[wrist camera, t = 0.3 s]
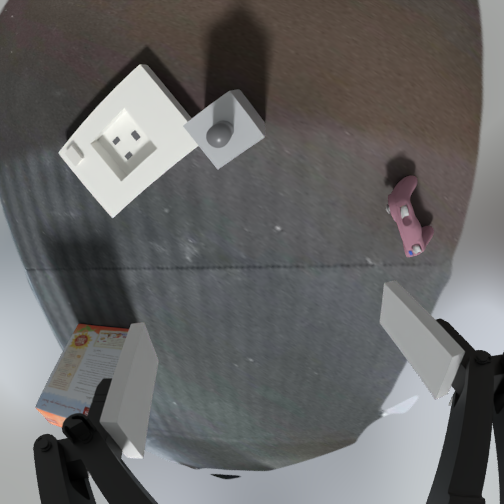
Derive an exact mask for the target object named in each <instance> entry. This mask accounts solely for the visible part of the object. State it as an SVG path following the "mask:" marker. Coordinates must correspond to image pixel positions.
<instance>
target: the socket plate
mask: <svg viewBox="0 0 504 504" xmlns="http://www.w3.org/2000/svg"><path fill="white" fill-rule="evenodd" d="M191 119H192V118H191V117H190V116H189V114H188V113H187V112H186V111H185V109H184V108H183V107H182V106H181V105H180V103H179V102H178V101H177V100H176V98H175V97H174V96H173V95H172V94H171V92H170V91H169V90H168V89H167V88H166V86H165V85H164V84H163V83H162V82H161V80H160V79H159V78H158V77H157V76H156V74H155V73H154V72H153V71H152V70H151V68H150V67H149V66H148V65H143V64H140V65H138V66H137V67H136V68H135V69H134V70H133V71H132V72H131V73H130V74H129V75H128V76H127V77H126V78H125V79H124V80H123V81H122V82H121V83H119V84H118V85H117V86H116V87H115V88H114V89H113V91H112V92H111V93H110V94H109V95H108V96H107V97H106V98H105V99H104V100H103V101H102V102H101V103H100V104H99V105H98V106H97V107H96V108H95V110H94V111H93V112H92V113H91V114H90V115H89V116H88V117H87V119H86V120H85V121H84V122H83V123H82V124H81V125H80V127H79V128H78V129H77V130H76V131H75V133H74V134H73V135H72V136H71V138H70V139H69V140H68V141H67V143H66V144H65V145H64V146H63V148H62V149H61V150H60V151H59V154H60V156H61V157H62V158H63V159H64V161H65V162H66V163H67V164H68V166H69V167H70V168H71V169H72V171H73V172H74V173H75V174H76V176H77V177H78V178H79V179H80V181H81V182H82V183H83V184H84V185H85V187H86V188H87V189H88V190H89V191H90V193H91V194H92V195H93V196H94V197H95V198H96V200H97V201H98V202H99V203H100V204H101V205H102V207H103V208H104V209H105V210H106V211H107V212H108V213H109V215H110V216H111V217H112V218H113V217H115V216H116V215H117V214H118V213H119V212H120V211H121V210H122V209H123V208H124V207H125V206H126V205H128V204H129V203H130V202H131V201H132V200H133V199H134V198H135V197H137V196H138V195H139V194H140V193H141V192H142V191H143V190H145V189H146V188H147V187H148V186H149V185H150V184H152V183H153V182H154V181H155V180H156V179H157V178H159V177H160V176H161V175H162V174H163V173H165V172H166V171H167V170H168V169H169V168H171V167H172V166H173V165H174V164H176V163H177V162H178V161H179V160H181V159H182V158H183V157H184V156H186V155H187V154H188V153H190V152H191V151H192V150H193V149H195V148H196V147H197V146H199V145H198V144H197V143H196V142H195V140H194V139H193V138H192V137H191V136H190V134H189V133H188V132H187V131H186V129H185V128H184V127H183V125H184V124H186V123H187V122H188V121H190V120H191Z"/></svg>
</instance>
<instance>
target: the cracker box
mask: <svg viewBox="0 0 504 504" xmlns="http://www.w3.org/2000/svg"><path fill="white" fill-rule="evenodd" d="M128 331H129V329H125V328H114V327H105V326H95V325H87V324H78V326H77V328H76V329H75V331H74V333H73V334H72V336H71V338H70V340H69V342H68V343H67V345H66V347H65V349H64V351H63V352H62V354H61V356H60V358H59V360H58V362H57V364H56V366H55V368H54V370H53V371H52V373H51V375H50V377H49V379H48V381H47V383H46V386H45V388H44V390H43V392H42V394H41V396H40V398H39V400H38V402H37V405H36V407H35V408H36V409H37V410H38V411H39V412H40V413H41V414H42V415H43V416H44V417H45V418H46V419H47V421H48V422H50V423H51V424H54V425H56V426H59V427H62V425H63V422H64V421H65V419H66V418H67V417H69V416H70V415H72V414H75V413H82V414H85V415H86V416H87V415H88V412H89V409H90V405H91V403H92V399H93V396H94V394H95V391H96V388H97V386H98V384H99V383H100V382H101V381H102V380H103V378H113V375H114V372H115V369H116V366H117V363H118V360H119V357H120V354H121V351H122V348H123V345H124V342H125V339H126V337H127V334H128Z"/></svg>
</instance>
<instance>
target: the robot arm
mask: <svg viewBox="0 0 504 504" xmlns="http://www.w3.org/2000/svg"><path fill="white" fill-rule="evenodd" d="M380 324H381V325H382V327H383V328H384V329H385V331H386V332H387V333H388V335H389V336H390V337H391V339H392V340H393V341H394V343H395V344H396V345H397V347H398V348H399V349H400V351H401V352H402V353H403V355H404V356H405V358H406V359H407V360H408V362H409V363H410V364H411V366H412V367H413V369H414V370H415V371H416V373H417V374H418V376H419V377H420V378H421V380H422V381H423V382H424V384H425V385H426V387H427V388H428V390H429V391H430V393H431V394H432V396H433V397H434V399H435V400H436V399H438V398H441V397H443V396H445V395H447V394H448V392H449V390H450V388H451V386H452V387H453V388H454V389H455V392H454V394H453V396H452V398H451V400H450V402H449V406H450V405H451V403H452V406H451V411H450V417H449V422H448V427H447V432H446V436H445V441H444V445H443V449H442V453H441V457H440V461H439V464H438V468H437V471H436V475H435V478H434V481H433V484H432V487H431V491H430V493H429V496H428V499H427V502H426V504H485V499H484V498H483V497H482V490H483V485H484V480H485V475H486V469H487V463H488V456H489V449H490V441H491V431H492V423H493V429H494V436H495V443H496V451H497V460H498V471H499V485H500V486H499V487H500V504H504V352H503V354H502V355H496V356H491V355H490V354H489V353H488V352H486V351H483V350H476V351H475V350H474V349H473V348H472V346H471V345H469V343H468V342H467V341H466V340H465V339H464V338H463V337H462V336H461V335H459V333H458V332H457V331H456V330H454V328H453V327H452V326H451V325H450V324H449V323H448V322H446V321H444V320H442V319H437V320H435V319H434V318H433V317H432V316H431V315H430V314H429V313H428V312H427V311H426V310H425V309H424V308H423V307H422V306H421V305H420V304H419V303H418V302H417V301H416V300H415V299H414V298H413V297H412V296H411V295H410V294H409V293H408V292H407V291H406V290H405V289H404V288H403V287H402V286H401V285H400V284H399V283H398V282H397V281H396V280H395V281H391V282H386V283H384V290H383V299H382V308H381V316H380ZM158 362H159V360H158V358H157V355H156V353H155V350H154V348H153V345H152V342H151V340H150V337H149V334H148V332H147V329H146V326H145V323H144V322H143V323H134V324H131V325H130V328H129V331H128V334H127V337H126V339H125V342H124V345H123V348H122V351H121V354H120V357H119V360H118V363H117V366H116V369H115V372H114V375H113V378H103V380H102V381H101V382H100V383H99V384H98V386H97V388H96V391H95V394H94V396H93V399H92V403H91V405H90V409H89V412H88V415H87V416H86V415H85V414H82V413H75V414H72V415H70V416H69V417H67V418H66V419H65V421H64V422H63V425H62V431H63V433H64V434H65V435H66V437H67V438H66V439H61V440H57V439H56V438H55V437H54V436H53V435H50V434H44V435H42V436H40V437H39V438H38V439H36V441H35V443H34V447H33V450H34V460H35V468H36V475H37V482H38V488H39V494H40V499H41V504H96V502H95V499H94V496H93V493H92V490H91V486H90V483H89V479H88V478H91V477H92V478H93V480H94V481H95V483H96V485H97V486H98V488H99V489H100V491H101V492H102V494H103V495H104V497H105V498H106V500H107V501H108V503H109V504H158V503H157V502H156V501H155V500H154V498H153V497H152V496H151V495H150V494H149V493H148V492H147V490H146V489H145V488H144V487H143V486H142V484H141V483H140V482H139V481H138V480H137V478H136V477H135V476H134V475H133V473H132V472H131V471H130V470H129V468H128V467H127V466H126V464H125V463H124V462H123V460H122V459H121V455H122V452H123V453H124V454H125V455H126V457H128V458H143V457H144V450H145V442H146V435H147V428H148V421H149V414H150V408H151V402H152V396H153V390H154V384H155V378H156V373H157V367H158Z"/></svg>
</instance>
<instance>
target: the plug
mask: <svg viewBox="0 0 504 504" xmlns="http://www.w3.org/2000/svg"><path fill="white" fill-rule="evenodd" d="M183 127H184V128H185V129H186V131H187V132H188V133H189V134H190V136H191V137H192V138H193V139H194V140H195V142H196V143H197V144H198V145H199V147H200V148H201V149H202V150H203V152H204V153H205V154H206V155H207V157H208V158H209V159H210V160H211V162H212V163H213V164H214V165H215V167H216V168H217V169H219V168H221V167H222V166H224V165H225V164H226V163H228V162H229V161H231V160H232V159H233V158H235V157H236V156H238V155H239V154H241V153H242V152H244V151H245V150H247V149H248V148H249V147H251V146H252V145H254V144H255V143H257V142H258V141H260V140H261V139H263V138H264V137H265V122H264V121H263V119H262V118H261V117H260V115H259V114H258V113H257V111H256V110H255V109H254V107H253V106H252V105H251V103H250V102H249V101H248V99H247V98H246V97H245V96H244V94H243V93H242V92H241V90H240V89H237V90H231V91H228V92H227V93H225V94H224V95H223V96H221V97H220V98H219V99H217V100H216V101H214V102H213V103H212V104H210V105H209V106H208V107H206V108H205V109H204V110H202V111H201V112H200V113H198V114H197V115H196V116H195V117H193V118H192V119H191V120H190V121H188V122H187V123H186V124H184V125H183Z"/></svg>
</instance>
